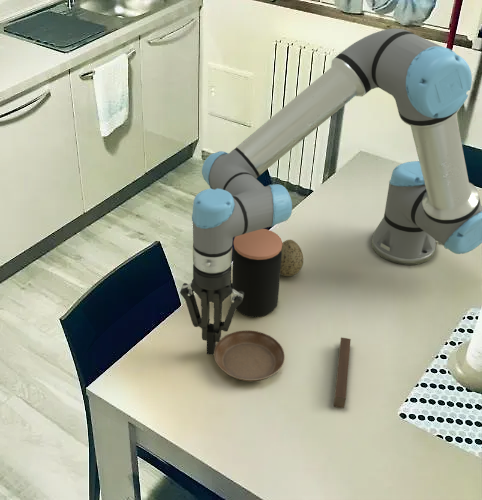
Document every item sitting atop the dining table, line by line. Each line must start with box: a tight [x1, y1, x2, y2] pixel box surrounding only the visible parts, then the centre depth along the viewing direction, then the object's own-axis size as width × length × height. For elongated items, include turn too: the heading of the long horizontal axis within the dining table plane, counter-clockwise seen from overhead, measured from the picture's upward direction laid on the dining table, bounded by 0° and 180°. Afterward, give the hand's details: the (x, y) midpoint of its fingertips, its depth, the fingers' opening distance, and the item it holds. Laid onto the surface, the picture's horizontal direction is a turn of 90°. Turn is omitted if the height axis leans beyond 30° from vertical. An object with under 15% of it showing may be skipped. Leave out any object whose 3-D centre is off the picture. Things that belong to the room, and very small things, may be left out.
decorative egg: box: [280, 239, 305, 277], centre depth 174 cm, size 7×7×10 cm
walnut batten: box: [333, 336, 352, 409], centre depth 148 cm, size 2×17×3 cm, turn 164°
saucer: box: [213, 329, 286, 382], centre depth 153 cm, size 15×15×3 cm
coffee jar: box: [231, 228, 283, 318], centre depth 163 cm, size 11×11×18 cm
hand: (211, 350), depth 154 cm, fingers closed
